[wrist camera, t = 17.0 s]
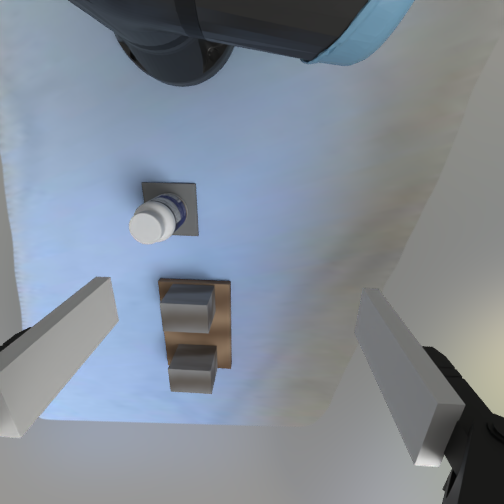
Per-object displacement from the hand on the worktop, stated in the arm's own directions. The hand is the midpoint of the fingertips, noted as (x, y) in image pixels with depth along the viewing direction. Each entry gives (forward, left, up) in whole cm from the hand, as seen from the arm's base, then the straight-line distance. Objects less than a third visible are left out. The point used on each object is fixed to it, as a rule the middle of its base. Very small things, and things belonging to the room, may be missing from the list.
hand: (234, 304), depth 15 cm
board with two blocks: (+23, -10, -29) cm, 38 cm away
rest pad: (+2, -13, -29) cm, 32 cm away
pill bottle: (+2, -13, -28) cm, 31 cm away
